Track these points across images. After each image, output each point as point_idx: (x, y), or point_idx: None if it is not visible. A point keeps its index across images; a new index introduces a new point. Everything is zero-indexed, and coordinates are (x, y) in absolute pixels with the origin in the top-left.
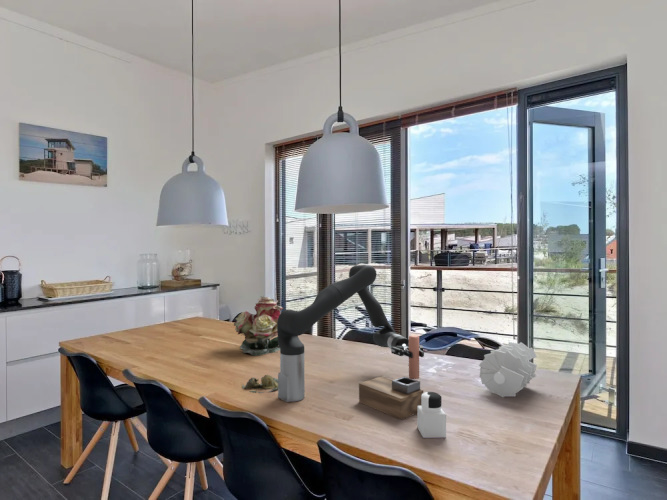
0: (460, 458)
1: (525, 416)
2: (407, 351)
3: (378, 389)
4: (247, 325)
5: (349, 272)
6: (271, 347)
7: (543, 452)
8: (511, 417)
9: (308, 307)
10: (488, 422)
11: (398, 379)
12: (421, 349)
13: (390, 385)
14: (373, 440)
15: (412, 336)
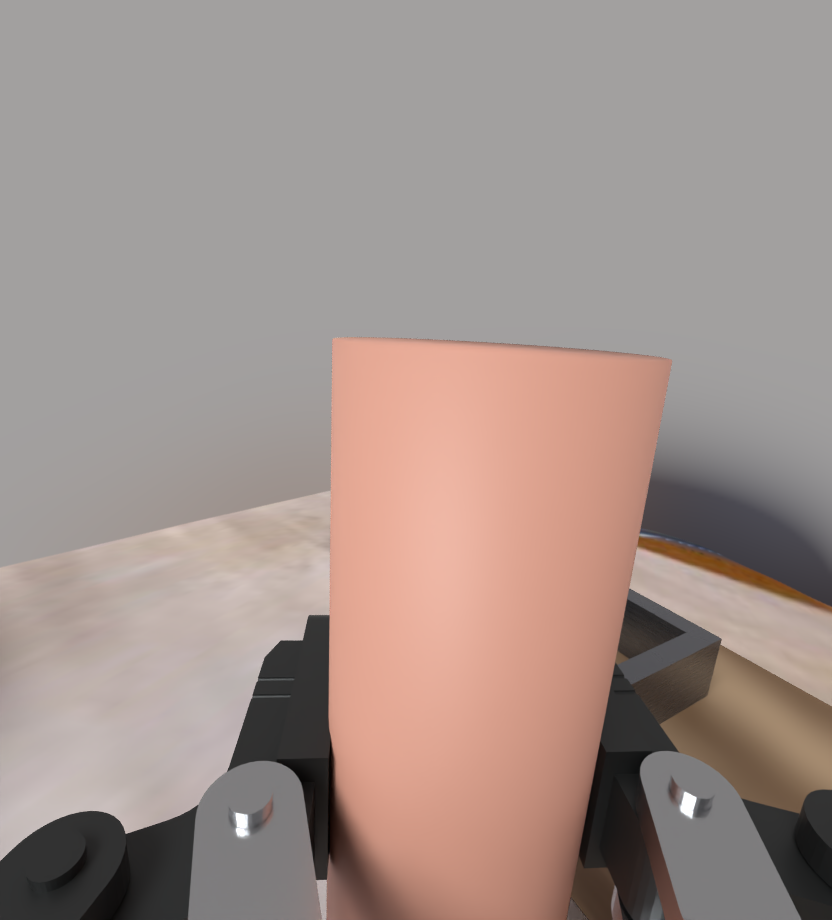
0: None
1: (23, 615)
2: (628, 735)
3: (819, 709)
4: None
5: None
6: None
7: (254, 511)
8: (91, 618)
9: None
10: (231, 608)
11: (669, 649)
12: (120, 867)
13: (744, 767)
14: (696, 596)
15: (539, 349)
